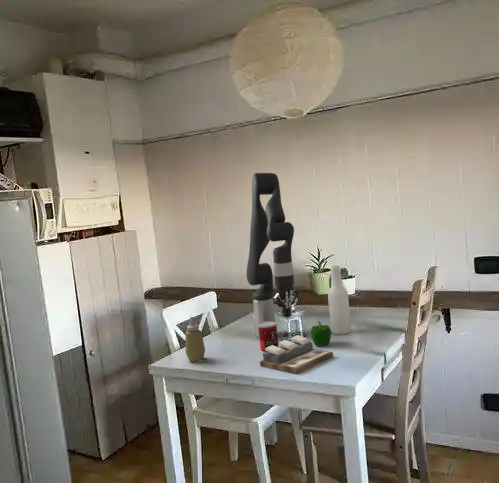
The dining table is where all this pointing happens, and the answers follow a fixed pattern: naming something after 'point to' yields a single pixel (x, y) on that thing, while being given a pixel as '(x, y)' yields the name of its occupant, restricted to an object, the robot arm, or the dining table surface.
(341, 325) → the alcohol
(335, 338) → the dining table surface
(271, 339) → the canned food
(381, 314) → the dining table surface
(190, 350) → the squeeze bottle
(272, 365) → the switch box
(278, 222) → the robot arm
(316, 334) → the bell pepper
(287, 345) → the rocker
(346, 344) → the dining table surface
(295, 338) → the rocker
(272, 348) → the rocker
